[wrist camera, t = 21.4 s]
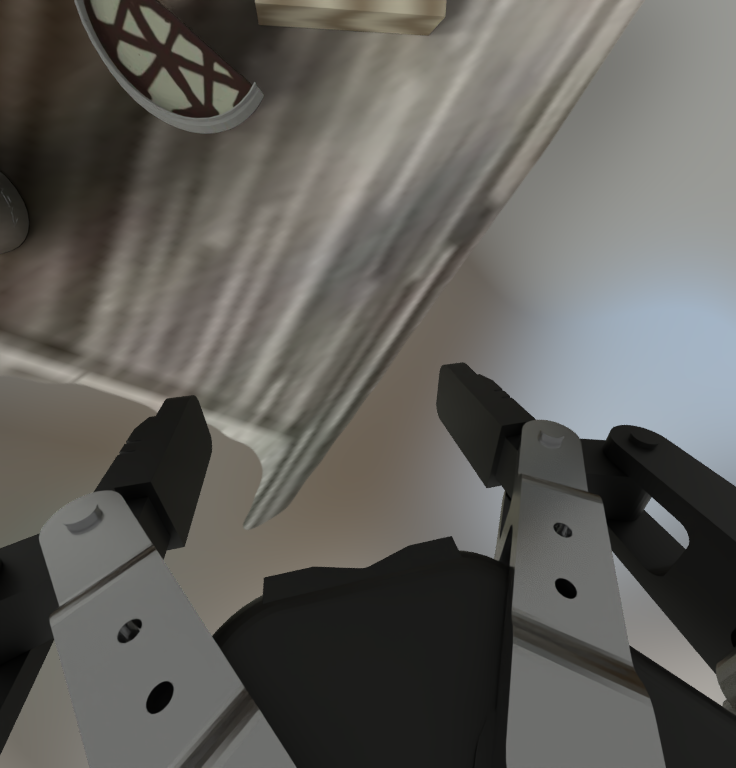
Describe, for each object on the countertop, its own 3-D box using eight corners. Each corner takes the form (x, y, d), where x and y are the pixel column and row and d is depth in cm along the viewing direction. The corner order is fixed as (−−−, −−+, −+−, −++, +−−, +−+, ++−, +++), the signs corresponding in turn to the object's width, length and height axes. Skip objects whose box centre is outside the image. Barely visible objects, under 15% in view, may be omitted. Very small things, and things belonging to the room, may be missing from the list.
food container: (104, 74, 28) (28, 25, 20) (130, -4, 27) (57, -95, 18) (240, 175, 34) (224, 169, 26) (268, 116, 32) (262, 88, 24)
